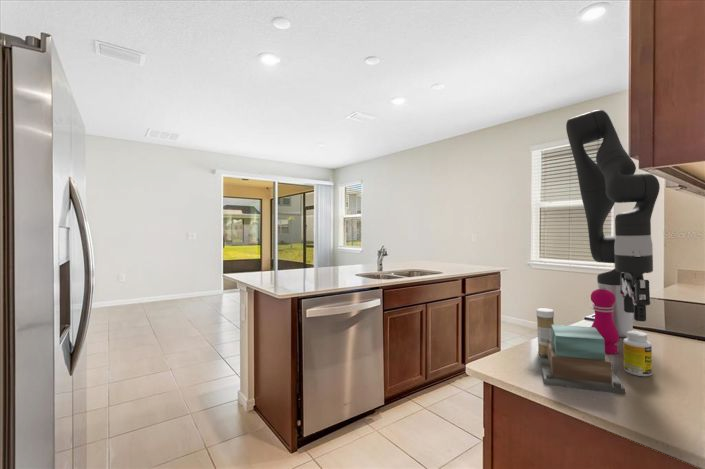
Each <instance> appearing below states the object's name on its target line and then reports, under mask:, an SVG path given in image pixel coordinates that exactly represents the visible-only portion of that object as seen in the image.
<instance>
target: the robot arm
mask: <svg viewBox="0 0 705 469" xmlns="http://www.w3.org/2000/svg"><path fill="white" fill-rule="evenodd" d="M565 125H566V128H565V129H566V135H567V139H568V143H569V146H570V149H571V151H572V152H571V153H572V156H573V160H574V163H575V164H574V165H575V168H576V169H575V170H576V173H577V174H576V175H577V179H578V185H579V191H580V196H581V200H582V204H583V208H584V213H585V217H586V222H587V223H586V224H587V231H588V239H589V240H588V241H589V242H588V243H589V249H590V254H591V257H592V259H593V260H594V261H595V262H597V263H604V264H605V263H606V264H614V268H613V269H612V270H609V271H605V272H601V273H598V275H597V279H596V280H597V289H599V285H600V284H604V285H605V286H606V290H609V291H611V292H612V293H613V294H614V295H615V303H614V304H613V305H612V306H613V307H614V308H613V310H614V311H613V312H612V320H613V323H614V325H615V327H616V329H617V331H618V334H619V338H627V332H628V331H634V330H633V327H634V326H633V323H634V322H633V320H634V321H636V322H646V321H647V307H648V306H650V305H651V296H650V294H651V293H650V280H649V279H644V274H651V273H652V272H654V258H653V257H654V254H653V250H654V249H653V241H652V227H651V226H652V224H651V223H652V222H651V221H652V214H653V212H654V209H655V205H656V202H657V199H658V196H659V193H660V189H661V188H660V182H659V179H658V178H657V177H656V176H655V175H654V174H651V173H636V171H637V168H636V164H635V162H634V161H633V159H632V158H631V157H630V155H629V154H628V152H626V150H625V148H624V147H623V145H622V142H621V141H620V138H619V136H618V133H617V131H616V128H615V126H614V124H613V121H612V119H611V118H610V116H609V114H608V113H607V112H606V111H605V110H604V109H596V110H592V111H588V112H586V113H583V114H579V115H576V116H573V117H570V118H569V119H568V120H567V121H566V124H565ZM600 140H602V142H601V144H600V146H599V148H598V150H597V152H596V156H595V161H594V160H593V159H592V158H591V157H590V156H589V155H588V153H587V151H586V149H585V146H584V145H586V144H590V143H593V142H595V141H600ZM635 173H636V174H635ZM616 203H617V204H619V203H620V204H623V203H635V204H634V207H632V209H631V210H628V211H624V212H619V213H617V214H616V215H615V219H614V229H615V230H614V231H615V233H614V234H615V235H605V234H604V226H605V225H604V223H605V222H606V220H607V219H606V218H607V217H608V215H609V214H610V212H611V211H612V209H613V207H614V205H615V204H616Z"/></svg>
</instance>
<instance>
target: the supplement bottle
mask: <svg viewBox="0 0 705 469" xmlns="http://www.w3.org/2000/svg"><path fill="white" fill-rule="evenodd" d="M622 343H623V349H622V350H623V369H624V371H625V372H626V373H628V374H630V375H633V376H637V377H650V376H651V375H652V374H653V359H652V357H653V355H652V352H653V351H652V350H653V349H652V343H651V342H650V341H648V334H647V333H646V332H643V331H637V330H633V331H628V332H627V337H624V338H623V342H622Z"/></svg>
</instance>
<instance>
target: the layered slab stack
mask: <svg viewBox="0 0 705 469" xmlns="http://www.w3.org/2000/svg"><path fill="white" fill-rule="evenodd" d="M551 328H552V341H548V356H547V355H546V354H542V355H540V354H539V363H540V368H541V372H542V378H543V382H544V384H545V385H552V386H553V385H554V386H560V387H561V386H562V387H569V388H576V389H585V390H593V391H599V392H606V393H614V394H621V395H625V394H626V388H625V386H624V385H623V383H622V382H621V381H620V379H619V377H618V375H617V373H615V371H614V370H613V368H612V361H611V360H610V358H609V357H608V355H607V354H605V341H604V338H603V337H602V336H601V334H600V333H599V332H598V331H597V329H596V328H595V327H591V326H582V325H581V326H580V325H568V324H566V325H564V324H554V325H552V324H551Z"/></svg>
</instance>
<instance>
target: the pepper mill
mask: <svg viewBox="0 0 705 469" xmlns="http://www.w3.org/2000/svg"><path fill="white" fill-rule="evenodd" d="M590 300H591V302H592V303H593V305H592V310H593V311H594V320H593V321H592V324H591V326H590V327H595V328H596V329H597V331H598V332H599V333H600V334H601V336H602V337H603V338H604V341H605V354H606V355H615V354H617V353H618V346H617V343H618V342H619V341H620V337H619V334H618V331H617V329H616V327H615V325H614V323H613V320H612V312H613V311H614V310H613V308H614V307H613V306H612V305H613V304H614V303H615V295H614V294H613V293H612V292H611V291H609V290H606V286H605V285H604V284H600V285H599V289H598V288H597V289H595V290H593V291H592V292H591V294H590Z"/></svg>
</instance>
